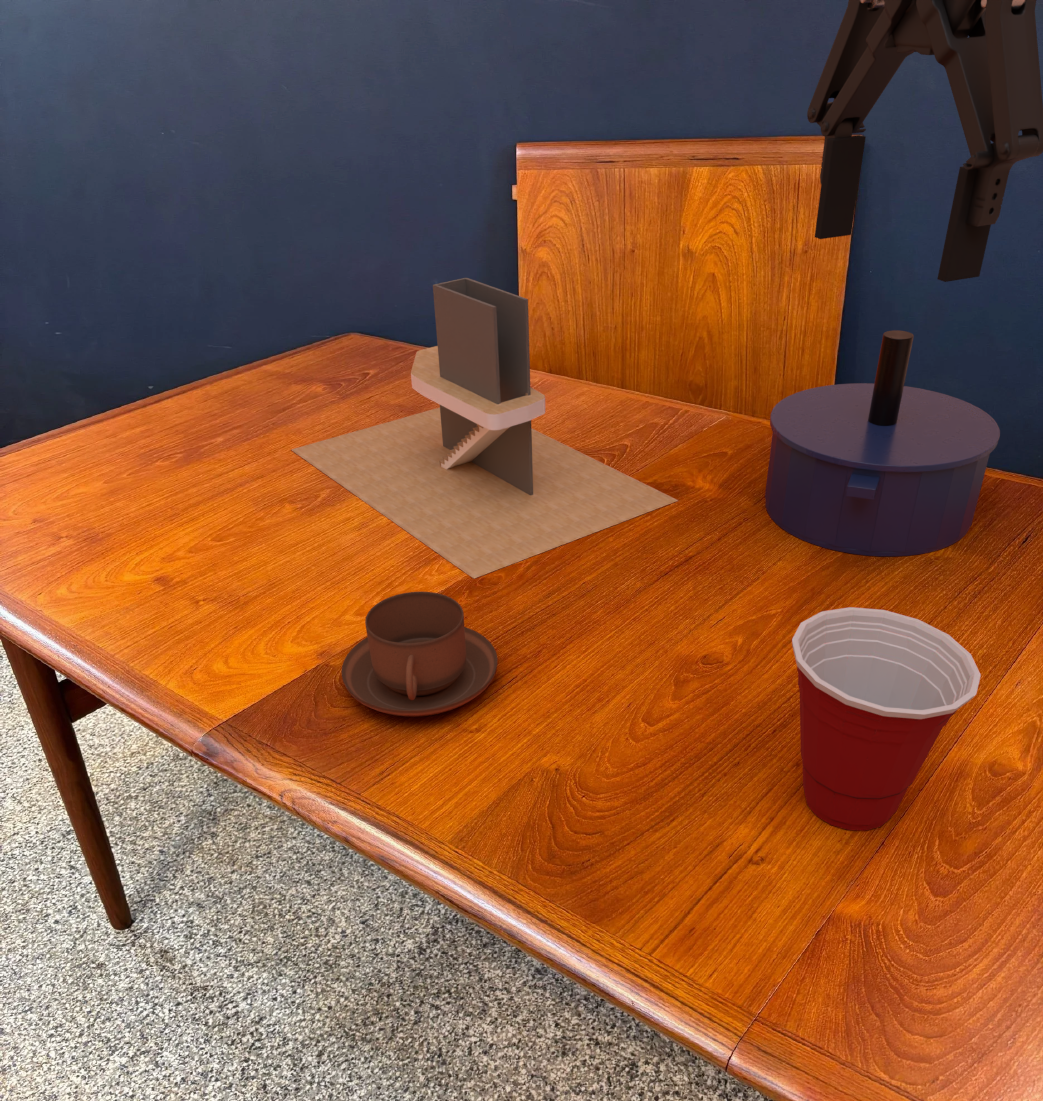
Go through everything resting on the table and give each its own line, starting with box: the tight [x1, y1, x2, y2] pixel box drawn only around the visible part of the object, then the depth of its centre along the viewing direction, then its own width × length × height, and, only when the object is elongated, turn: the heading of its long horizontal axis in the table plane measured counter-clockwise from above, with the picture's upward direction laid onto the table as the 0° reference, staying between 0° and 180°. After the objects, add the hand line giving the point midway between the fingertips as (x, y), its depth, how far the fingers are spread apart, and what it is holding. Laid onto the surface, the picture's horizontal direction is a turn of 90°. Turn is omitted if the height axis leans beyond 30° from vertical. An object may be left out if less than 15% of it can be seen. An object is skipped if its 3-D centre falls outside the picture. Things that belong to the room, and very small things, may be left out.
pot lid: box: [769, 329, 1001, 472], centre depth 93 cm, size 21×21×9 cm
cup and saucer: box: [341, 591, 499, 717], centre depth 77 cm, size 12×12×6 cm
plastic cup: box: [791, 606, 982, 832], centre depth 63 cm, size 11×11×12 cm
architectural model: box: [290, 277, 679, 579], centre depth 104 cm, size 38×25×20 cm, turn 36°
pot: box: [764, 431, 991, 557], centre depth 98 cm, size 20×25×8 cm
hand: (890, 256), depth 70 cm, fingers open, 13 cm apart
